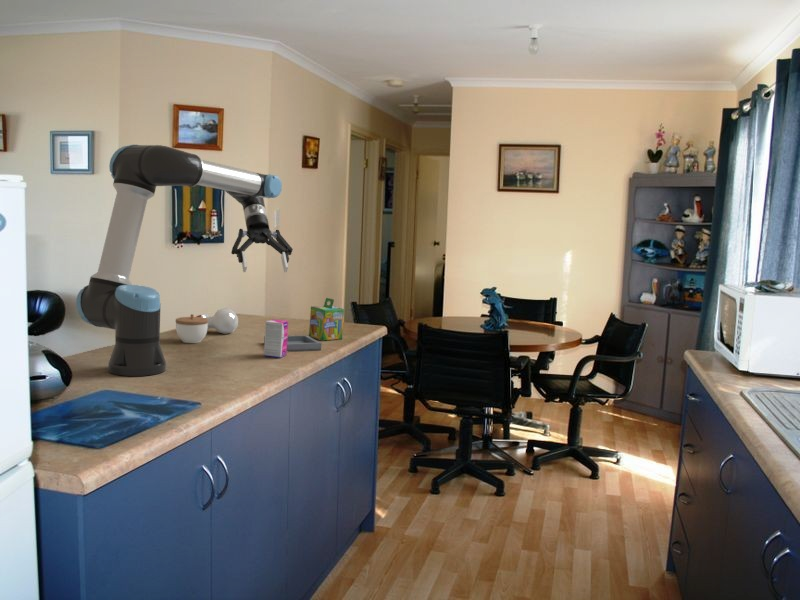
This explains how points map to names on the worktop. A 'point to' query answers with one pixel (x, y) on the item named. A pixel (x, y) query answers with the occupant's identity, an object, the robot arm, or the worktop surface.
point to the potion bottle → (222, 321)
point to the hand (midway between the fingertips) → (265, 269)
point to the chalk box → (326, 321)
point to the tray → (301, 343)
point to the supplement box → (276, 338)
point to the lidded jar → (191, 328)
